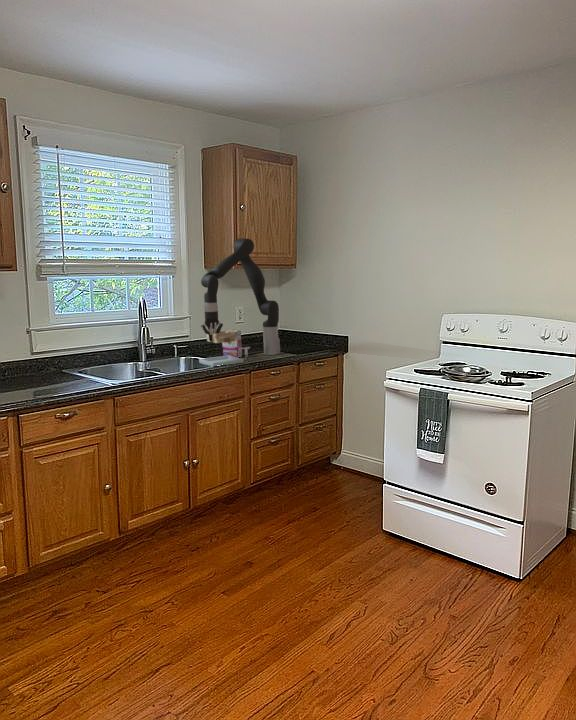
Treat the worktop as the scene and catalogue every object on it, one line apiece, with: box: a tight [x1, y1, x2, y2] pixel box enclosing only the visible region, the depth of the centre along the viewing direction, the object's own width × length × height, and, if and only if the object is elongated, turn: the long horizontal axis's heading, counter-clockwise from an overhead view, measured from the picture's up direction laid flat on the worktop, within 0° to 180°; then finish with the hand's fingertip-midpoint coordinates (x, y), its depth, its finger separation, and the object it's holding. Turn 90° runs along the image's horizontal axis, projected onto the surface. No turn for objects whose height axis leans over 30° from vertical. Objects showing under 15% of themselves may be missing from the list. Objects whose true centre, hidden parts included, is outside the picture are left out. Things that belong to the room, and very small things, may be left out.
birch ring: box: [205, 330, 237, 344], centre depth 347 cm, size 14×13×5 cm
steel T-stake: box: [242, 346, 251, 360], centre depth 361 cm, size 5×2×7 cm, turn 122°
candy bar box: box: [221, 329, 243, 358], centre depth 369 cm, size 11×5×16 cm, turn 62°
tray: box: [198, 355, 245, 367], centre depth 349 cm, size 19×19×2 cm
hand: (212, 341), depth 345 cm, fingers closed on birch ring, 1 cm apart
